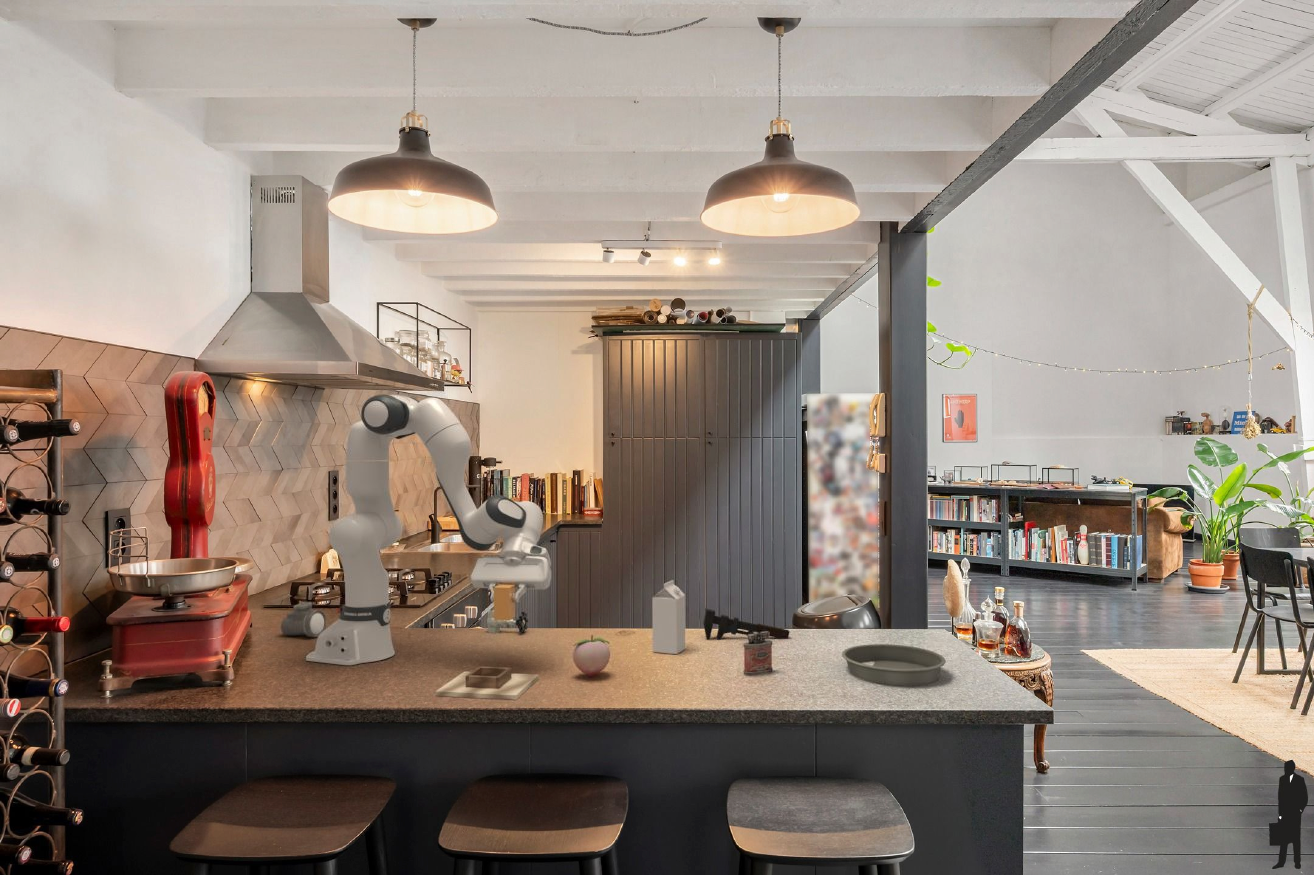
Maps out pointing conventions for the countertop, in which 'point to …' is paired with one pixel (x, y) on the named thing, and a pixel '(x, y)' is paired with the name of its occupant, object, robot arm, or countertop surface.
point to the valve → (506, 622)
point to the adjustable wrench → (738, 626)
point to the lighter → (758, 654)
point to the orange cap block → (504, 602)
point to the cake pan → (894, 664)
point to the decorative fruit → (591, 655)
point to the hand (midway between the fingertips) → (504, 600)
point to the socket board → (488, 684)
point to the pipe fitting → (304, 621)
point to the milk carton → (669, 619)
